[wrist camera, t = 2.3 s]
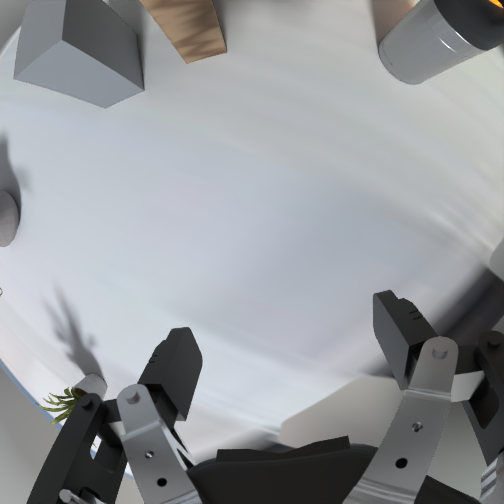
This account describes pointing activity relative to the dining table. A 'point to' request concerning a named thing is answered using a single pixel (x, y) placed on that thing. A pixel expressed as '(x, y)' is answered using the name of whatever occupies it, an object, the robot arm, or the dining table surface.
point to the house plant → (78, 395)
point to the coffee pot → (7, 219)
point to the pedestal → (79, 51)
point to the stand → (189, 26)
